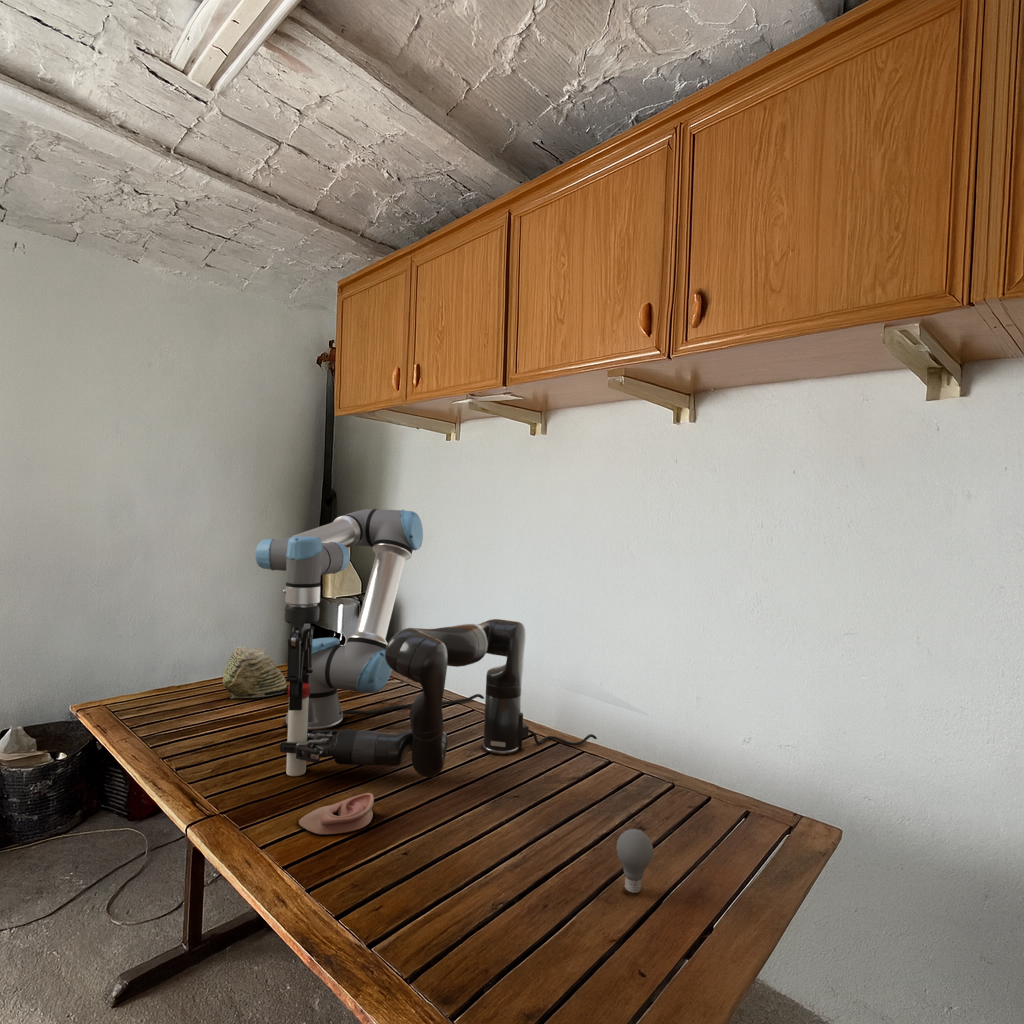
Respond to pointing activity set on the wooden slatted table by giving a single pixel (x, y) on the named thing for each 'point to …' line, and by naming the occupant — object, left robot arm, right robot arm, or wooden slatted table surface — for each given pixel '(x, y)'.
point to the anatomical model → (340, 816)
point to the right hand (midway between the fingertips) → (285, 742)
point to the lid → (305, 690)
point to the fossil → (252, 674)
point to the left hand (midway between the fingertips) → (298, 705)
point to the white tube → (297, 737)
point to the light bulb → (634, 857)
